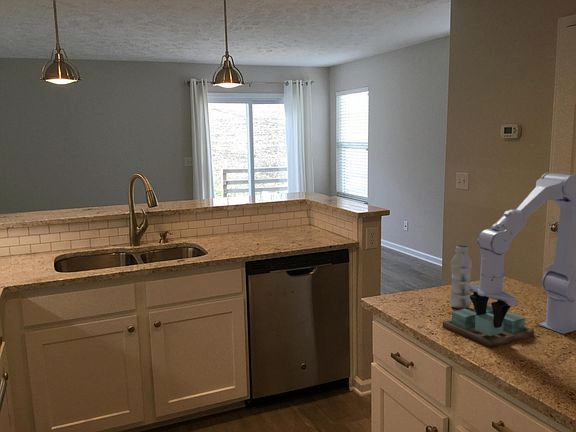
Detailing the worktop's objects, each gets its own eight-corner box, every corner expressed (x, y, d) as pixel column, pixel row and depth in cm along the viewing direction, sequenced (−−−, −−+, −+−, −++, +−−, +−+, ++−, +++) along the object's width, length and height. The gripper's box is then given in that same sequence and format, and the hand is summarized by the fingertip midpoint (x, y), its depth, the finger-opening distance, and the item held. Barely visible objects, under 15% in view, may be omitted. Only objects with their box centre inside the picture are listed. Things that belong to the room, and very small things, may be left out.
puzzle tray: (484, 316, 156) (485, 301, 155) (533, 335, 141) (535, 318, 140) (442, 326, 148) (443, 310, 148) (489, 348, 133) (490, 330, 133)
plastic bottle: (472, 311, 160) (475, 249, 157) (449, 310, 162) (452, 248, 158) (469, 304, 167) (472, 244, 163) (447, 303, 168) (450, 243, 165)
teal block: (488, 326, 142) (488, 312, 141) (502, 332, 137) (503, 318, 137) (474, 329, 140) (475, 315, 139) (489, 336, 135) (490, 321, 135)
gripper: (459, 270, 141) (458, 317, 143) (503, 283, 128) (500, 335, 130) (478, 267, 144) (476, 313, 146) (523, 279, 131) (520, 330, 133)
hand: (489, 323), depth 138 cm, fingers closed on teal block, 5 cm apart
